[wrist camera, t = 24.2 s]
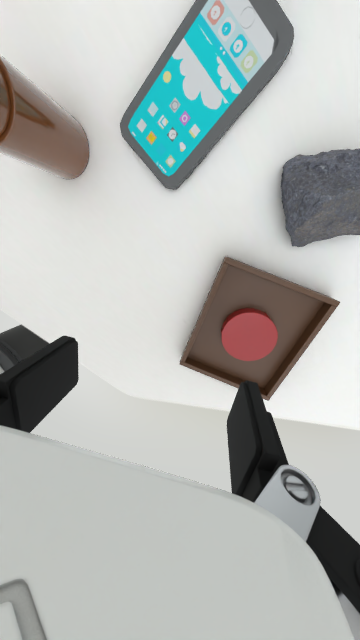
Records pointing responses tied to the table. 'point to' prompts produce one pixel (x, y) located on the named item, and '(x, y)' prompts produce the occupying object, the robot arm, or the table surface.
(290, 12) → the table surface
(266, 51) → the smartphone
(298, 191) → the rock
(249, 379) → the tray
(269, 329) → the lid
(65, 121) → the jam jar
